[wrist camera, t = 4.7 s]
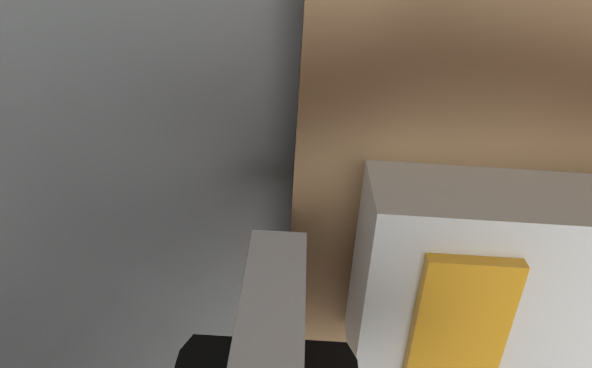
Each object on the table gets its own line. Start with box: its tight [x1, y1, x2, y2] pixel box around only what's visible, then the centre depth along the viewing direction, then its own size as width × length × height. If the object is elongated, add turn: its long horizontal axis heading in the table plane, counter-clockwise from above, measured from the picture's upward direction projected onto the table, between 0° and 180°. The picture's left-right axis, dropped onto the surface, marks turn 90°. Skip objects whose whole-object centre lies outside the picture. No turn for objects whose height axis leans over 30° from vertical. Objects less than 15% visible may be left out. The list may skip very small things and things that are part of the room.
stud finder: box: [345, 160, 592, 368], centre depth 15 cm, size 6×10×3 cm, turn 87°
